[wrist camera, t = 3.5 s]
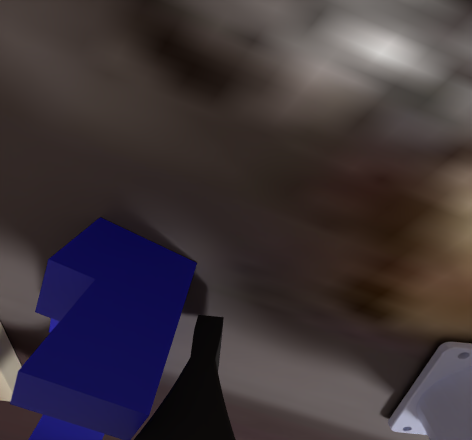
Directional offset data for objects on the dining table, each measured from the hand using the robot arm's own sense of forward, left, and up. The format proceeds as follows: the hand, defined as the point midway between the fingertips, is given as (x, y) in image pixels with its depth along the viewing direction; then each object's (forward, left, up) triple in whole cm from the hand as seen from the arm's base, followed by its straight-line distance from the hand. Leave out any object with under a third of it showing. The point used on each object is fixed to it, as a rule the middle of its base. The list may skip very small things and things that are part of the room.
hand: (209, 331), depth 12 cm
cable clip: (+5, +2, -1) cm, 6 cm away
